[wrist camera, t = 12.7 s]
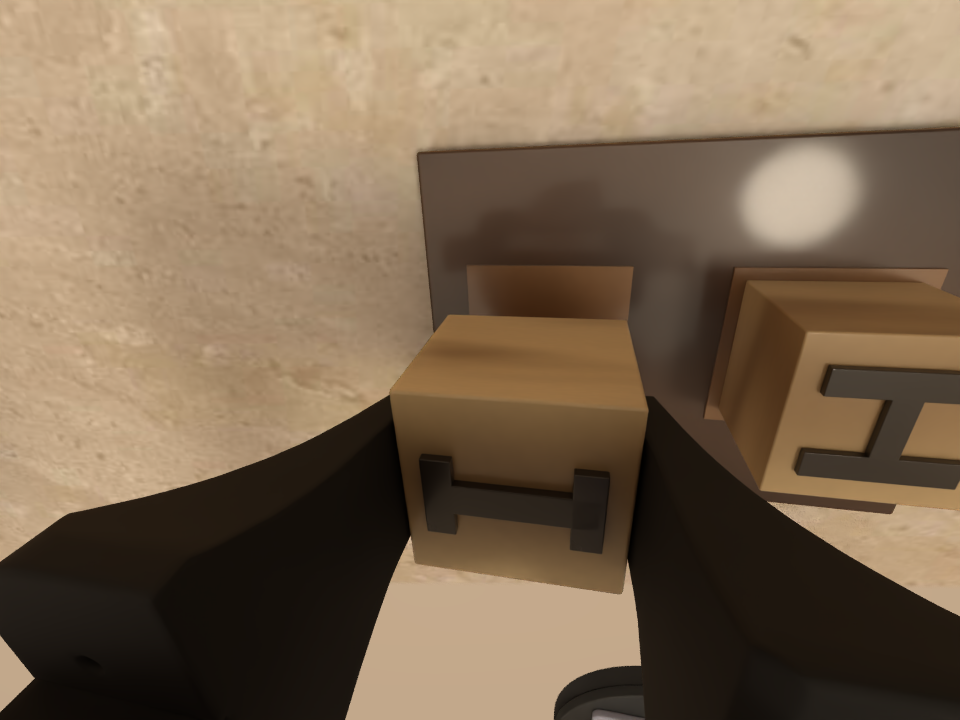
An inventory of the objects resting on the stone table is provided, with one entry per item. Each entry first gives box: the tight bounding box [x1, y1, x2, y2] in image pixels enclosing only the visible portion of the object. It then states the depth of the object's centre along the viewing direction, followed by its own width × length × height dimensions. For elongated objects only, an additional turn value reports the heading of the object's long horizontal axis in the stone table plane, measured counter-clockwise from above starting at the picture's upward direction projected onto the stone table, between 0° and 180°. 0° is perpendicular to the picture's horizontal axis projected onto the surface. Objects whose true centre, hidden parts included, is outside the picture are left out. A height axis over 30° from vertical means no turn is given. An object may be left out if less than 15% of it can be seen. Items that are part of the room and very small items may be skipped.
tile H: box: [719, 280, 960, 510], centre depth 12 cm, size 4×4×4 cm
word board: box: [417, 127, 960, 514], centre depth 15 cm, size 12×16×1 cm
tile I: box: [389, 315, 649, 594], centre depth 10 cm, size 4×4×4 cm
